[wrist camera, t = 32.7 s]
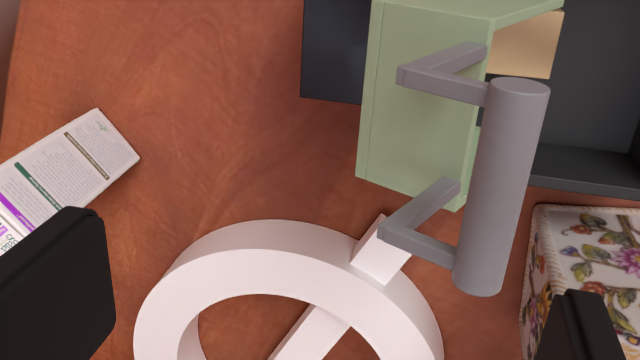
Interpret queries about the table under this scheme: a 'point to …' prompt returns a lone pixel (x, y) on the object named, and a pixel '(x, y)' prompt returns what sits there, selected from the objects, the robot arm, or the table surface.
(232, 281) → the white circle with bar
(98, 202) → the table surface
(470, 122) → the scoop box
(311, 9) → the scoop stand
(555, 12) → the block
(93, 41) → the table surface
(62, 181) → the syrup box
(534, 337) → the decorative jar
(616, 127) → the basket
